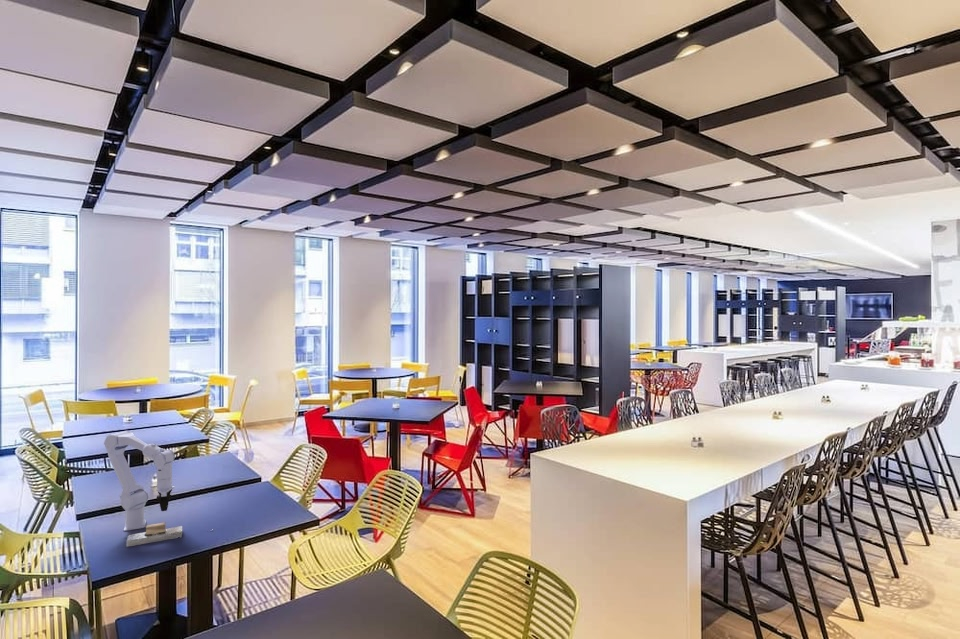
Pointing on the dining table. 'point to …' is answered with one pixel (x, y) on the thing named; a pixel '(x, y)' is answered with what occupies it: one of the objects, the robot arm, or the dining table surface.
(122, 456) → the robot arm
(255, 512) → the dining table surface
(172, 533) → the grey plate with holes
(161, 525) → the clip
